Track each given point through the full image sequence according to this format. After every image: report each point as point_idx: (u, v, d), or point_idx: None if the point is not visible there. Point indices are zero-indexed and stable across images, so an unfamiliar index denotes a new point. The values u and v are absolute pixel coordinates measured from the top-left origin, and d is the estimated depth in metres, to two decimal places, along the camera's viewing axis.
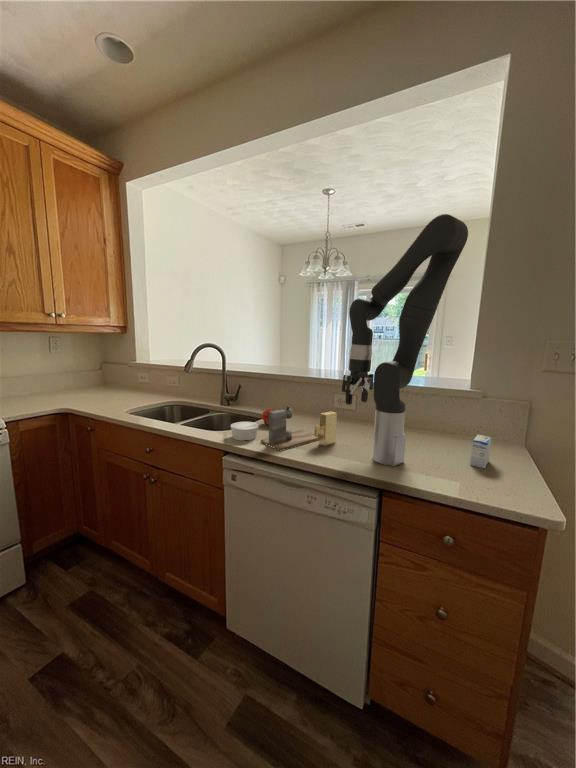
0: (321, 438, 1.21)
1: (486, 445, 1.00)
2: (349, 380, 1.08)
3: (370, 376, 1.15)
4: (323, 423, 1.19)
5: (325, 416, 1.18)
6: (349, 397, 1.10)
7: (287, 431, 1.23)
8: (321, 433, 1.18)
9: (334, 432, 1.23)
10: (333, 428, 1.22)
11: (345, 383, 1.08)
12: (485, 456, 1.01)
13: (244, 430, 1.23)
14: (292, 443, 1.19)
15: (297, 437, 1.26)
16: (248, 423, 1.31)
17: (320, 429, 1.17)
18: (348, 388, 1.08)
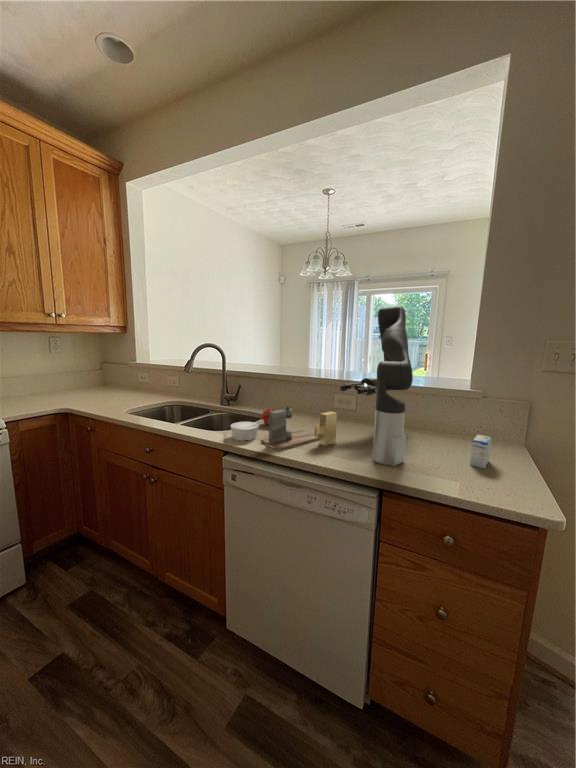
0: (321, 438, 1.21)
1: (486, 445, 1.00)
2: (350, 383, 1.38)
3: None
4: (323, 423, 1.19)
5: (325, 416, 1.18)
6: None
7: (287, 431, 1.23)
8: (321, 433, 1.18)
9: (334, 432, 1.23)
10: (333, 428, 1.22)
11: None
12: (485, 456, 1.01)
13: (244, 430, 1.23)
14: (292, 443, 1.19)
15: (297, 437, 1.26)
16: (248, 423, 1.31)
17: (320, 429, 1.17)
18: (346, 383, 1.36)
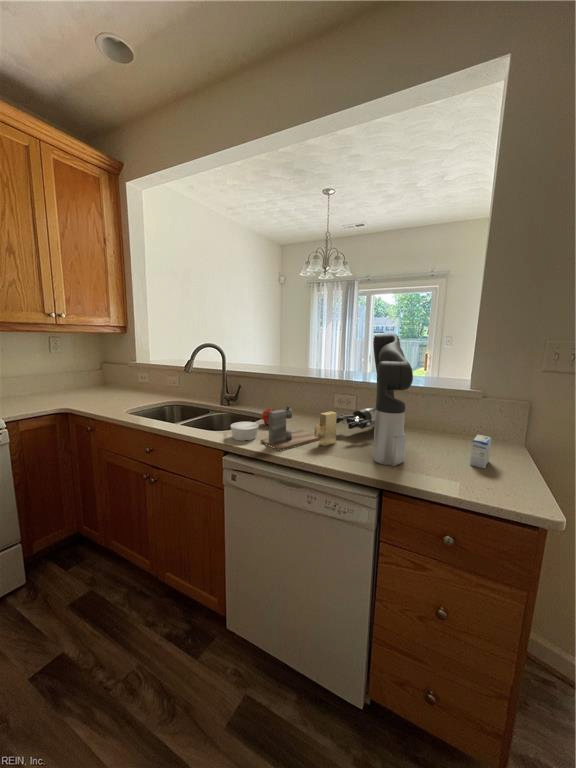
0: (321, 438, 1.21)
1: (486, 445, 1.00)
2: (342, 414, 1.37)
3: None
4: (323, 423, 1.19)
5: (325, 416, 1.18)
6: None
7: (287, 431, 1.23)
8: (321, 433, 1.18)
9: (334, 432, 1.23)
10: (333, 428, 1.22)
11: None
12: (485, 456, 1.01)
13: (244, 430, 1.23)
14: (292, 443, 1.19)
15: (297, 437, 1.26)
16: (248, 423, 1.31)
17: (320, 429, 1.17)
18: (338, 415, 1.35)
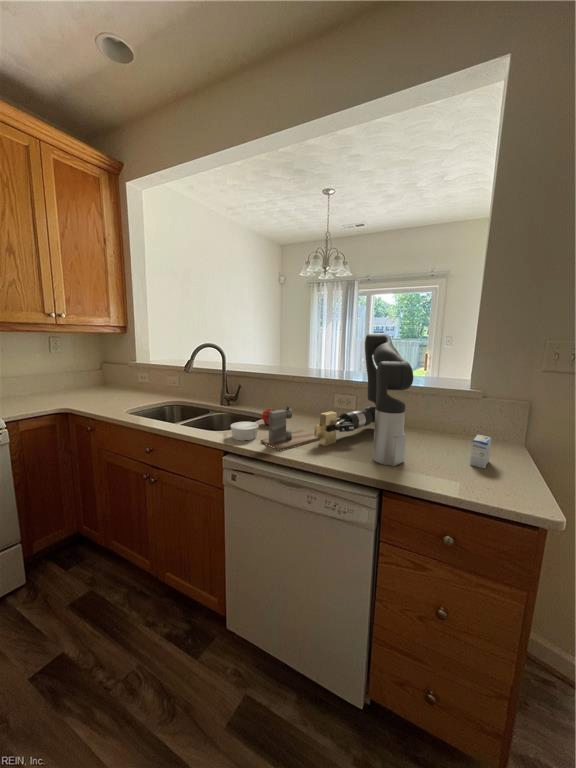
0: (321, 438, 1.21)
1: (486, 445, 1.00)
2: None
3: None
4: (323, 423, 1.19)
5: (325, 416, 1.18)
6: None
7: (287, 431, 1.23)
8: (321, 433, 1.18)
9: (334, 432, 1.23)
10: None
11: None
12: (485, 456, 1.01)
13: (244, 430, 1.23)
14: (292, 443, 1.19)
15: (297, 437, 1.26)
16: (248, 423, 1.31)
17: (320, 429, 1.17)
18: None
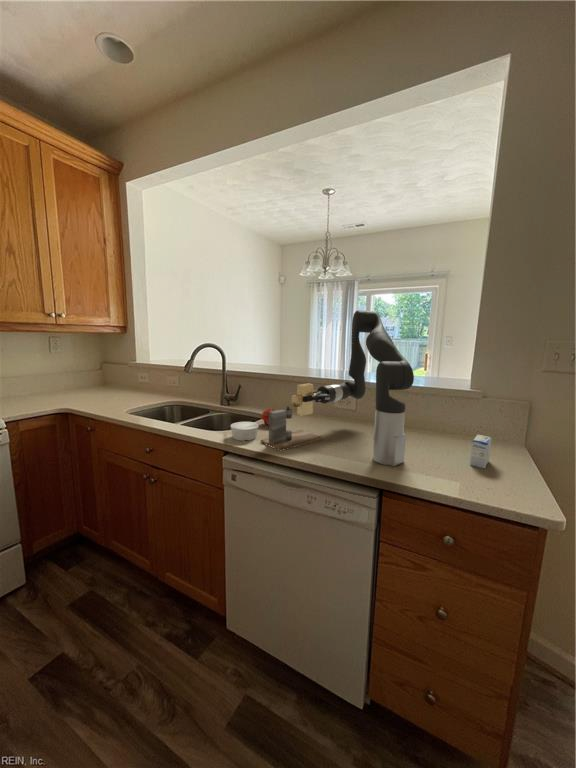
0: (298, 408, 1.27)
1: (486, 445, 1.00)
2: None
3: None
4: (300, 394, 1.25)
5: (302, 387, 1.24)
6: None
7: (287, 431, 1.23)
8: (298, 403, 1.23)
9: (311, 403, 1.28)
10: None
11: None
12: (485, 456, 1.01)
13: (244, 430, 1.23)
14: (292, 443, 1.19)
15: (297, 437, 1.26)
16: (248, 423, 1.31)
17: (297, 399, 1.23)
18: None
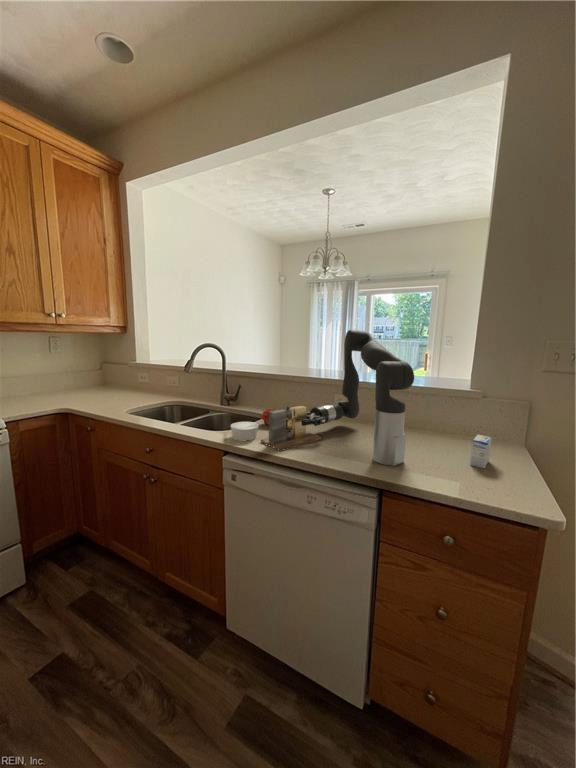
0: None
1: (486, 445, 1.00)
2: None
3: None
4: (293, 417, 1.24)
5: (294, 410, 1.23)
6: None
7: (287, 431, 1.23)
8: (290, 426, 1.22)
9: (304, 426, 1.27)
10: None
11: None
12: (485, 456, 1.01)
13: (244, 430, 1.23)
14: (292, 443, 1.19)
15: None
16: (248, 423, 1.31)
17: (289, 422, 1.22)
18: None
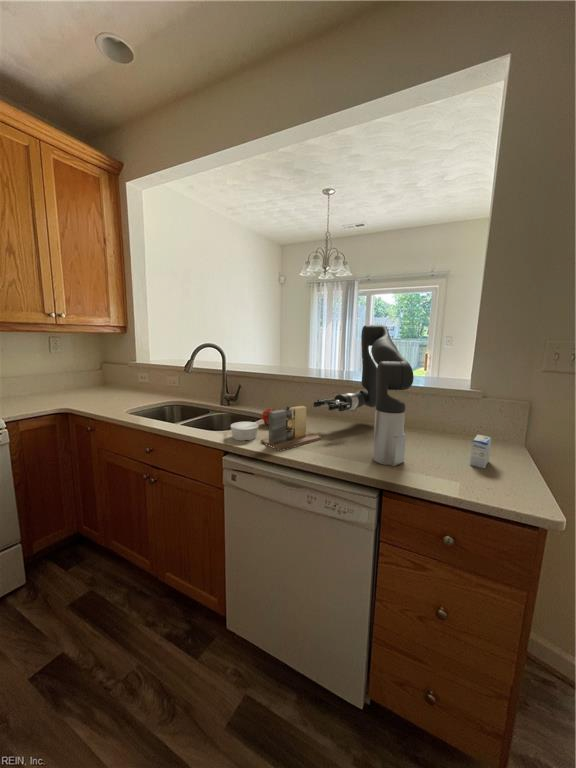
0: None
1: (486, 445, 1.00)
2: (324, 399, 1.43)
3: None
4: (293, 417, 1.24)
5: (294, 410, 1.23)
6: None
7: (287, 431, 1.23)
8: (290, 426, 1.22)
9: (304, 426, 1.27)
10: (303, 422, 1.26)
11: None
12: (485, 456, 1.01)
13: (244, 430, 1.23)
14: (292, 443, 1.19)
15: None
16: (248, 423, 1.31)
17: (289, 422, 1.22)
18: (320, 399, 1.41)
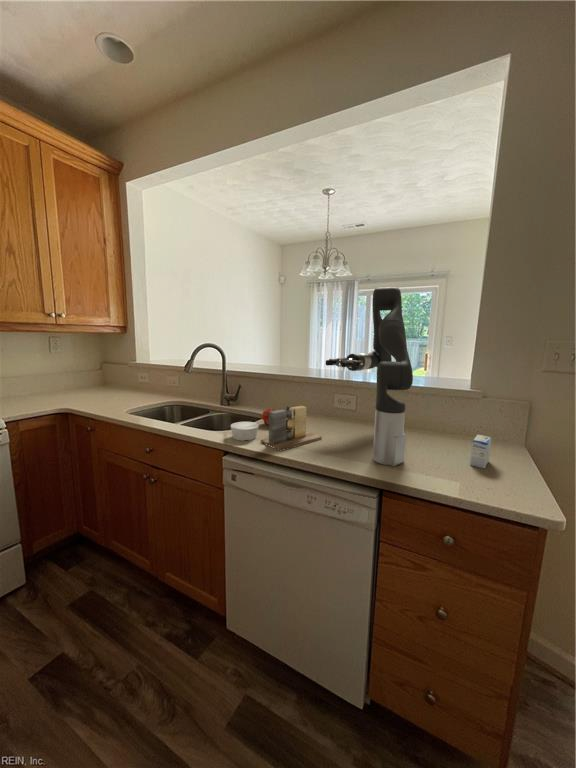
0: None
1: (486, 445, 1.00)
2: None
3: None
4: (293, 417, 1.24)
5: (294, 410, 1.23)
6: None
7: (287, 431, 1.23)
8: (290, 426, 1.22)
9: (304, 426, 1.27)
10: (303, 422, 1.26)
11: None
12: (485, 456, 1.01)
13: (244, 430, 1.23)
14: (292, 443, 1.19)
15: None
16: (248, 423, 1.31)
17: (289, 422, 1.22)
18: (331, 359, 1.37)
